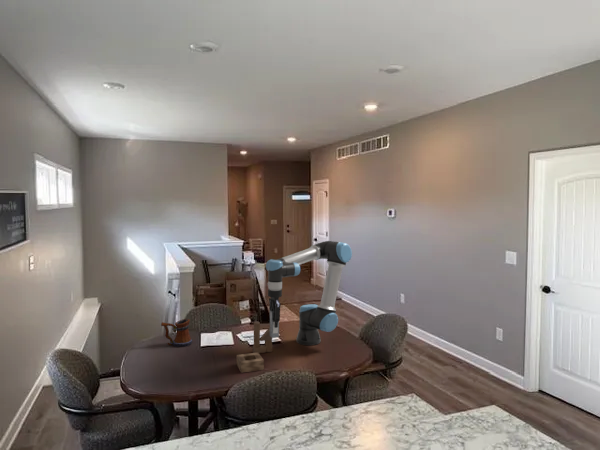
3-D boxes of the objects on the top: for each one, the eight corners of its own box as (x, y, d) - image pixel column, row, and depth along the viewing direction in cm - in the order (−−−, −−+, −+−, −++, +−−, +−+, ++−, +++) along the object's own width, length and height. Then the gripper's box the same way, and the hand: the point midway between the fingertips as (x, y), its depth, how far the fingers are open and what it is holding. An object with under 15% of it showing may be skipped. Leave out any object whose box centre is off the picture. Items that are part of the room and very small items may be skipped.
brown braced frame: (272, 351, 247) (272, 321, 246) (254, 354, 244) (254, 323, 242) (270, 349, 251) (270, 319, 250) (252, 352, 247) (252, 321, 246)
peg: (276, 335, 233) (277, 309, 232) (278, 337, 229) (279, 311, 228) (269, 335, 231) (270, 310, 231) (271, 337, 228) (272, 312, 227)
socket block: (258, 361, 233) (258, 352, 233) (263, 369, 222) (263, 360, 221) (236, 364, 229) (236, 355, 228) (241, 372, 218) (241, 363, 217)
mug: (161, 349, 250) (161, 324, 249) (161, 342, 261) (161, 318, 260) (192, 346, 256) (192, 321, 255) (191, 340, 267) (191, 316, 266)
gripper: (263, 286, 236) (263, 327, 237) (273, 292, 220) (272, 337, 221) (276, 285, 238) (276, 326, 239) (286, 292, 222) (285, 335, 224)
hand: (274, 331), depth 230 cm, fingers closed on peg, 4 cm apart
